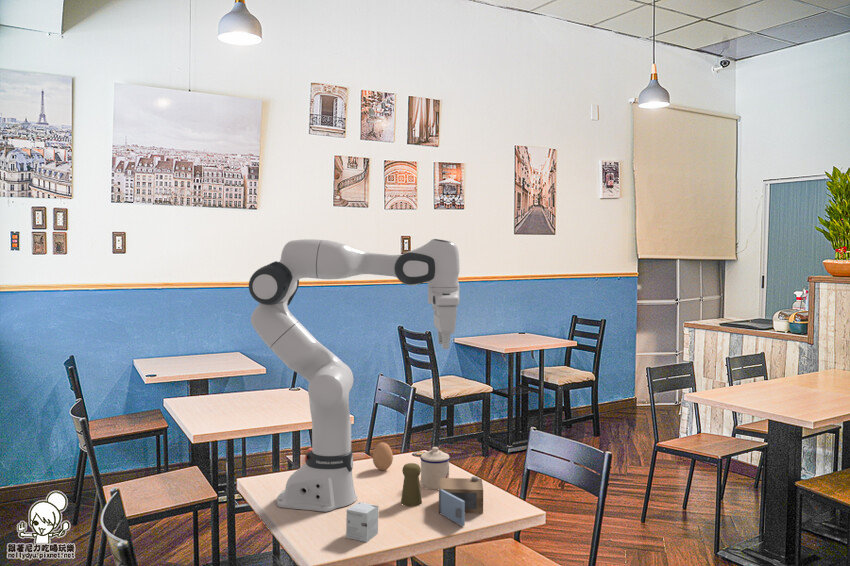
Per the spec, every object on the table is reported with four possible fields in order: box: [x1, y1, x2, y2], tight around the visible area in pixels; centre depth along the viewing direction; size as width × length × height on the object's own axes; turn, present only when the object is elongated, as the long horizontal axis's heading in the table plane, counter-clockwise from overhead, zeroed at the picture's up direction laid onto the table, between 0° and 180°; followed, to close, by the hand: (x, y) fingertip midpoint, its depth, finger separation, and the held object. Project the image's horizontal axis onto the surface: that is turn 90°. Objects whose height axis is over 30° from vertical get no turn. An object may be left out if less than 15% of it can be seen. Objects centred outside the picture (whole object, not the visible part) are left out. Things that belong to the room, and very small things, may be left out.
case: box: [439, 476, 484, 514], centre depth 185 cm, size 12×9×7 cm
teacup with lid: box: [419, 446, 451, 490], centre depth 203 cm, size 12×9×12 cm
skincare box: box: [345, 501, 379, 543], centre depth 165 cm, size 6×6×7 cm
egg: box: [372, 441, 394, 472], centre depth 216 cm, size 7×7×9 cm
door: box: [438, 489, 466, 527], centre depth 175 cm, size 11×2×6 cm, turn 33°
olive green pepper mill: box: [400, 462, 423, 507], centre depth 188 cm, size 6×6×11 cm
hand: (443, 346), depth 185 cm, fingers open, 8 cm apart
